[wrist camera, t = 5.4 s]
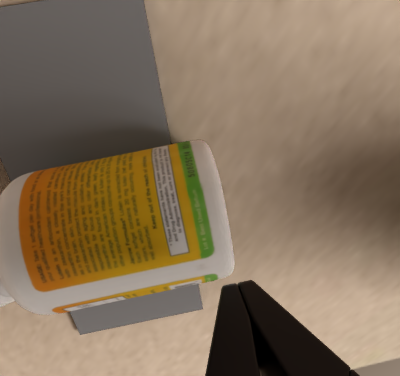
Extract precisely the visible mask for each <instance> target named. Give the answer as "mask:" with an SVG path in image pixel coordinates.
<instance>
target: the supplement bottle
mask: <svg viewBox="0 0 400 376" xmlns="http://www.w3.org/2000/svg"><path fill="white" fill-rule="evenodd" d="M234 266H235V261H234V252H233V245H232V238H231V232H230V226H229V221H228V215H227V210H226V204H225V199H224V194H223V189H222V185H221V180H220V177H219V173H218V169H217V166H216V163H215V160H214V157H213V154H212V152H211V149H210V147H209V146H208V144H207V143H206V142H205V141H203V140H192V141H186V142H181V143H175V144H171V145H166V146H161V147H156V148H151V149H146V150H141V151H136V152H131V153H126V154H121V155H116V156H111V157H106V158H101V159H96V160H91V161H86V162H80V163H75V164H70V165H65V166H60V167H55V168H49V169H44V170H39V171H35V172H31V173H27V174H24V175H22V176H20V177H18V178H16V179H15V180H13V181H12V182H11V183H10V184H9V185H8V186H7V187H6V188H5V189H4V190H3V192H2V193H1V195H0V307H2V306H4V305H7V304H9V303H12V302H14V301H15V302H17V303H18V304H19V305H20V306H21V307H22V308H24V309H26V310H28V311H30V312H32V313H35V314H39V315H52V314H59V313H64V312H70V311H74V310H79V309H83V308H88V307H92V306H97V305H101V304H106V303H111V302H116V301H120V300H125V299H130V298H134V297H139V296H144V295H149V294H153V293H158V292H163V291H168V290H172V289H177V288H182V287H187V286H191V285H195V284H200V283H205V282H210V281H214V280H217V279H221V278H225V277H227V276H229V275H230V274H232V272H233V270H234Z"/></svg>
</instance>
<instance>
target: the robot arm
mask: <svg viewBox="0 0 400 376" xmlns="http://www.w3.org/2000/svg"><path fill="white" fill-rule="evenodd" d="M205 376H359V375H358V374H357V373H356V372H355V371H354V370H350V367H349V366H348V365H347V364H346V363H345V362H344V361H343V360H341V359H340V358H339V357H338V356H337V355H336V354H335V353H334V352H332V351H331V350H330V349H329V348H328V347H327V346H326V345H325V344H323V343H322V342H321V341H320V340H319V339H318V338H317V337H316V336H314V335H313V334H312V333H311V332H310V331H309V330H308V329H307V328H306V327H304V326H303V325H302V324H301V323H300V322H299V321H298V320H297V319H295V318H294V317H293V316H292V315H291V314H290V313H289V312H288V311H286V310H285V309H284V308H283V307H282V306H281V305H280V304H279V303H278V302H276V301H275V300H274V299H273V298H272V297H271V296H270V295H269V294H267V293H266V292H265V291H264V290H263V289H262V288H261V287H260V286H258V285H257V284H256V283H255V282H254V281H252V280H248V281H244V282H239V283H238V285H237V284H236V283H234V284H229V285H224V286H223V287H222V289H221V295H220V300H219V305H218V311H217V316H216V321H215V327H214V332H213V337H212V343H211V348H210V353H209V358H208V364H207V369H206V374H205Z"/></svg>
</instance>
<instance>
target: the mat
mask: <svg viewBox="0 0 400 376" xmlns="http://www.w3.org/2000/svg"><path fill="white" fill-rule="evenodd" d="M166 145H171V141H170V136H169V130H168V125H167V120H166V115H165V110H164V104H163V99H162V94H161V89H160V84H159V79H158V73H157V68H156V63H155V58H154V53H153V47H152V42H151V37H150V32H149V27H148V22H147V16H146V11H145V6H144V1H143V0H43V1H36V2H30V3H24V4H17V5H11V6H4V7H0V159H1V161H2V163H3V165H4V167H5V170H6V172H7V174H8V176H9V179H10V181H11V182H12V181H13V180H15V179H16V178H18V177H20V176H22V175H24V174H27V173H31V172H35V171H39V170H44V169H49V168H55V167H60V166H65V165H70V164H75V163H80V162H86V161H91V160H96V159H101V158H106V157H111V156H116V155H121V154H126V153H131V152H136V151H141V150H146V149H151V148H156V147H161V146H166ZM201 309H203V307H202V301H201V296H200V291H199V286H198V284H195V285H191V286H187V287H182V288H177V289H172V290H168V291H163V292H158V293H153V294H149V295H144V296H139V297H134V298H130V299H125V300H120V301H116V302H111V303H106V304H101V305H97V306H92V307H88V308H83V309H79V310H74V311H70V314H71V316H72V318H73V320H74V322H75V325H76V327H77V329H78V331H79V333H80V335H82V334H87V333H91V332H96V331H101V330H106V329H110V328H115V327H120V326H125V325H130V324H134V323H139V322H144V321H149V320H153V319H158V318H163V317H168V316H172V315H177V314H182V313H187V312H191V311H196V310H201Z"/></svg>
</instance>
